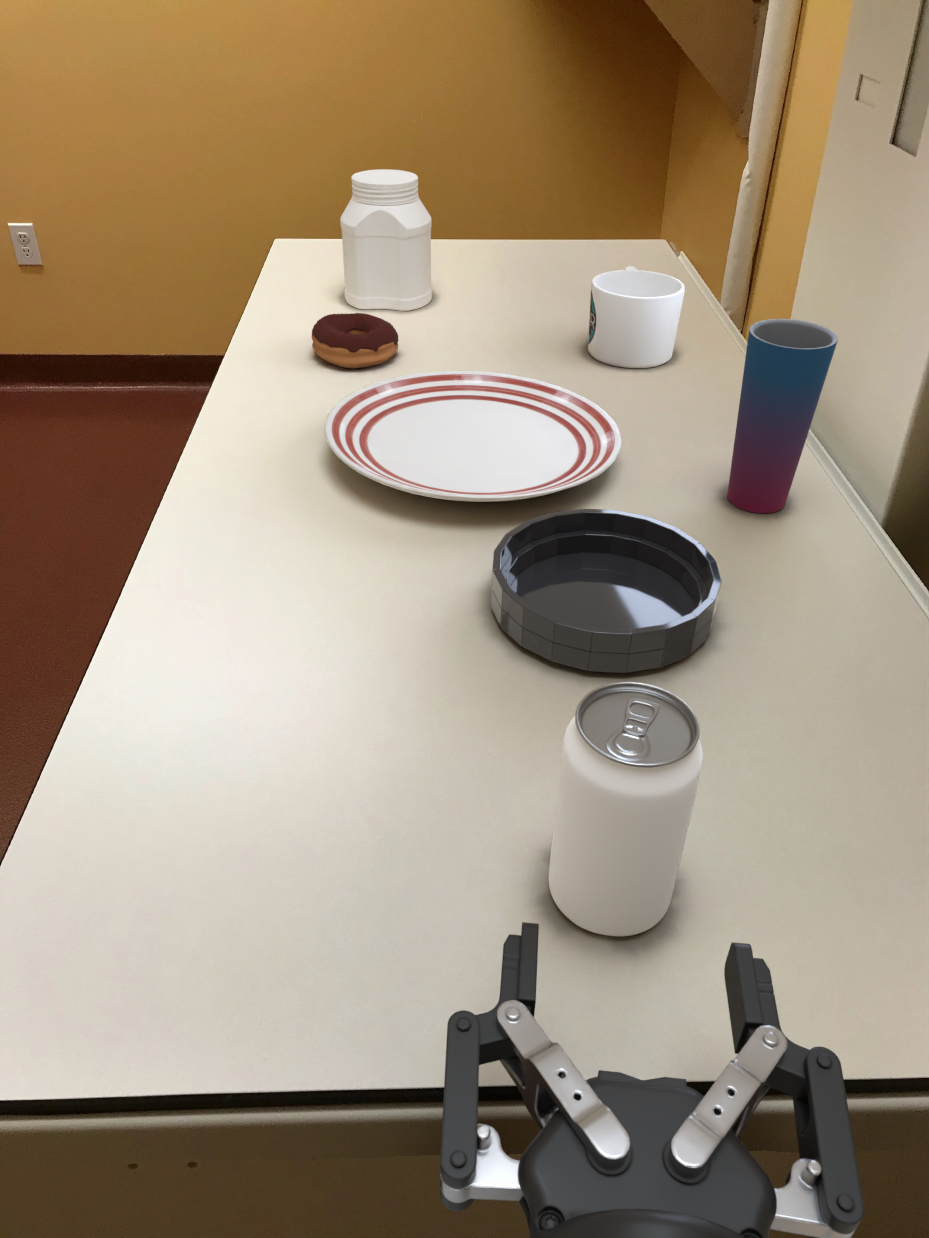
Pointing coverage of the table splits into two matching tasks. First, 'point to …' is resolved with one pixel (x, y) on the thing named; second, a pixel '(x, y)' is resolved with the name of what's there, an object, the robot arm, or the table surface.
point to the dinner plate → (472, 435)
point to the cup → (776, 409)
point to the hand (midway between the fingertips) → (631, 943)
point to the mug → (634, 317)
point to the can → (623, 807)
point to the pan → (604, 590)
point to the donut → (354, 340)
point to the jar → (386, 242)
